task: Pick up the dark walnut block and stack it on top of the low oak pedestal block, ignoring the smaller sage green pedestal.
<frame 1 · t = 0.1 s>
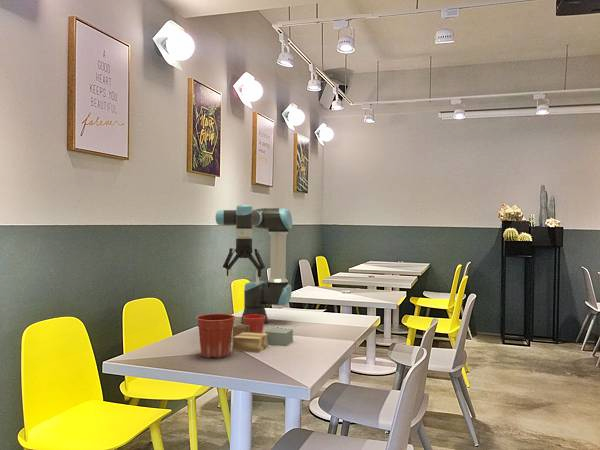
hand: (243, 283, 235), 28 cm above the table, fingers open, 13 cm apart
flower pot 2: (215, 355, 214), on the table
oak pedestal: (250, 348, 225), on the table
walnut block: (241, 340, 241), on the table
sage green pedestal: (279, 343, 236), on the table
flower pot: (253, 336, 252), on the table
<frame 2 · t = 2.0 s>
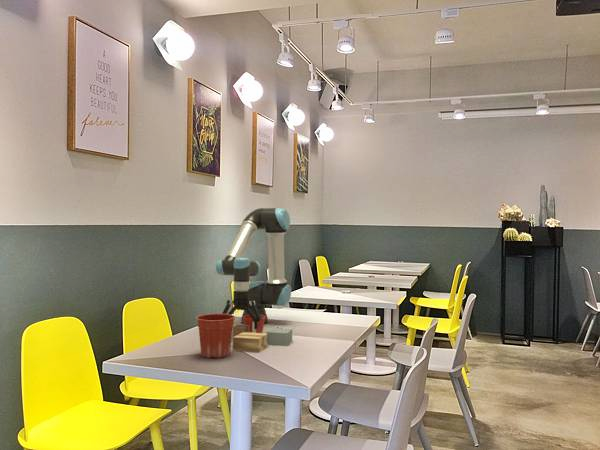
hand: (240, 334, 240), 3 cm above the table, fingers open, 13 cm apart
nothing on the table moved.
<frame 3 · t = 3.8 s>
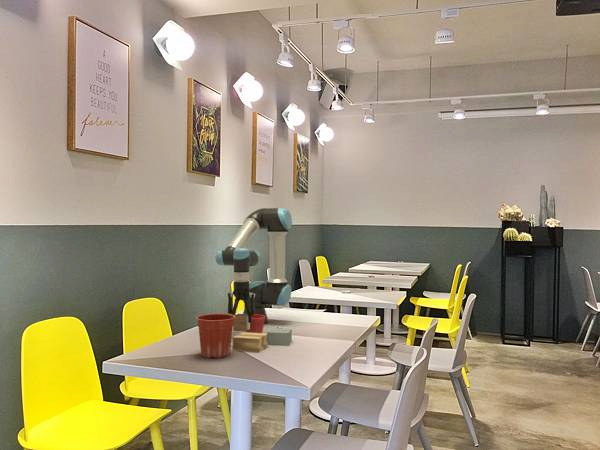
hand: (241, 328, 241), 5 cm above the table, fingers closed on walnut block, 6 cm apart
walnut block: (241, 329, 241), point 5 cm above the table, touching gripper
everything else where it was.
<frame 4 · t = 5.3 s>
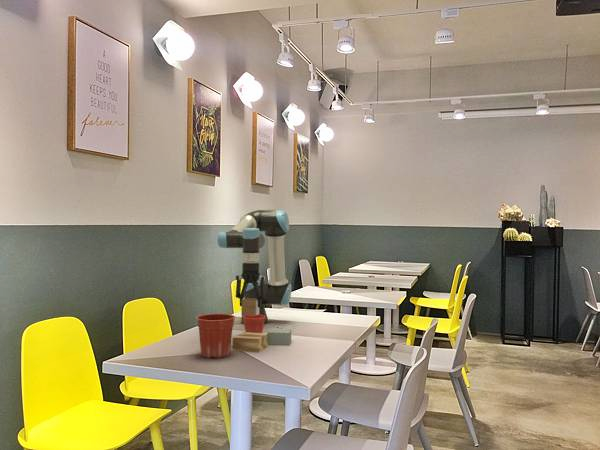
hand: (250, 314, 226), 15 cm above the table, fingers closed on walnut block, 6 cm apart
walnut block: (250, 314, 226), point 15 cm above the table, touching gripper
everything else where it was.
when the fingers open (7 cm above the table, at t = 7.0 s): walnut block drops 1 cm, resting on oak pedestal.
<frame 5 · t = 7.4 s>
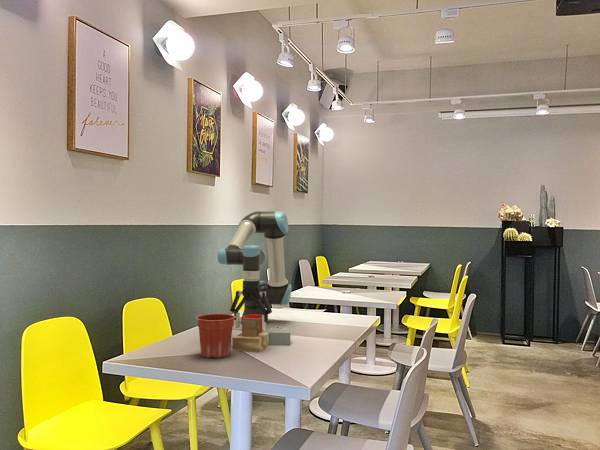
hand: (250, 328, 225), 9 cm above the table, fingers open, 12 cm apart
oak pedestal: (250, 348, 226), on the table, touching walnut block
walnut block: (250, 335, 226), point 6 cm above the table, touching oak pedestal
everything else where it was.
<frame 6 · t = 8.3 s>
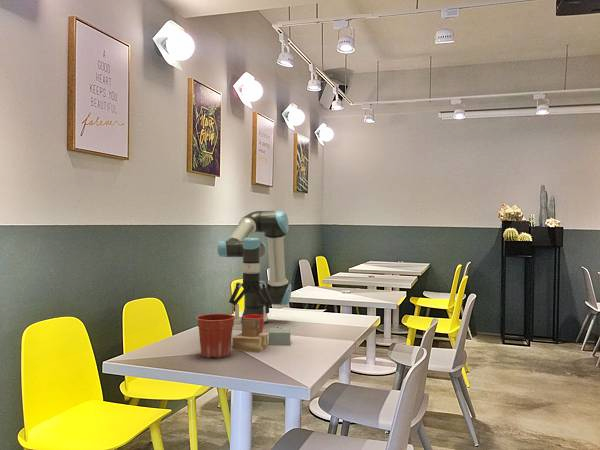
hand: (251, 319, 226), 13 cm above the table, fingers open, 13 cm apart
oak pedestal: (250, 349, 225), on the table
walnut block: (250, 335, 226), point 6 cm above the table
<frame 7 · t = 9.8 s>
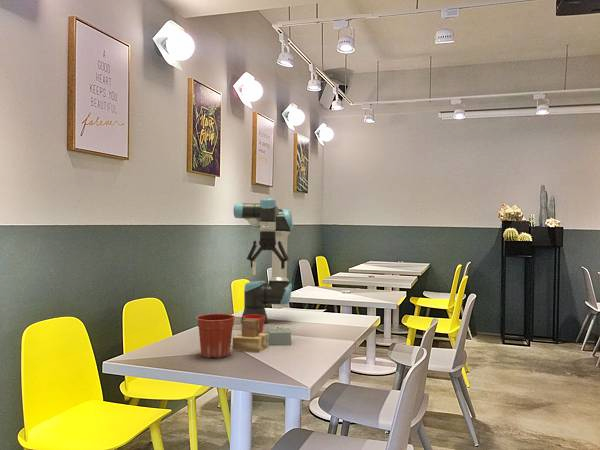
hand: (267, 275, 241), 31 cm above the table, fingers open, 13 cm apart
oak pedestal: (250, 349, 225), on the table, touching walnut block
walnut block: (250, 335, 226), point 6 cm above the table, touching oak pedestal
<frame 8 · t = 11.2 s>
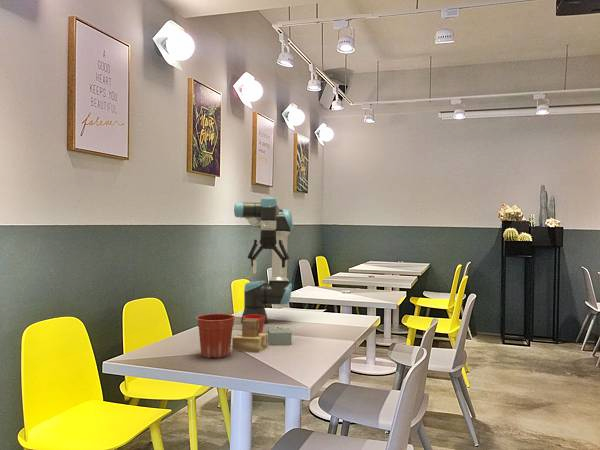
hand: (268, 274, 241), 32 cm above the table, fingers open, 13 cm apart
at the end: walnut block inside the target area on the oak pedestal (0.1 cm from its centre), point 6.0 cm above the oak pedestal's base; walnut block tilted 0°; the gripper is holding nothing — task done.
